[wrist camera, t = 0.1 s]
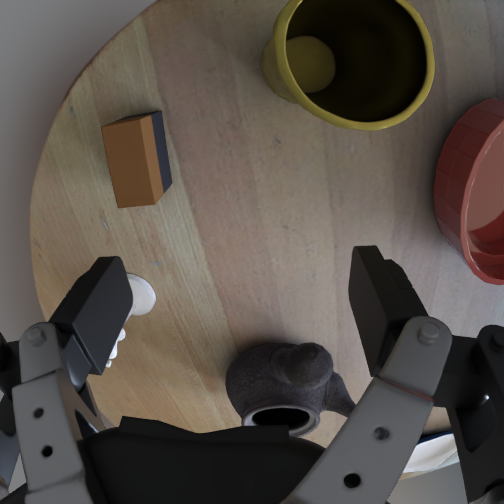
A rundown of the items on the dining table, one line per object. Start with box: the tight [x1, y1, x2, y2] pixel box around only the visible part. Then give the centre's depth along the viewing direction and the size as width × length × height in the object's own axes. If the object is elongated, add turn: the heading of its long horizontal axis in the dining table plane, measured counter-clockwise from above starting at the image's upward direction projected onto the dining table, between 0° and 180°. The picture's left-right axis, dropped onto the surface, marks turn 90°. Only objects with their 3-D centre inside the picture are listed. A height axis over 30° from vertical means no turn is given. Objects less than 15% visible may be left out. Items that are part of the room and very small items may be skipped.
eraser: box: [101, 111, 172, 208], centre depth 22 cm, size 6×3×4 cm, turn 4°
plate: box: [403, 431, 457, 473], centre depth 51 cm, size 20×20×3 cm
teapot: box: [225, 343, 356, 437], centre depth 30 cm, size 19×15×10 cm
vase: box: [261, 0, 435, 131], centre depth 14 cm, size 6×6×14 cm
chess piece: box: [106, 274, 156, 368], centre depth 27 cm, size 5×5×10 cm
